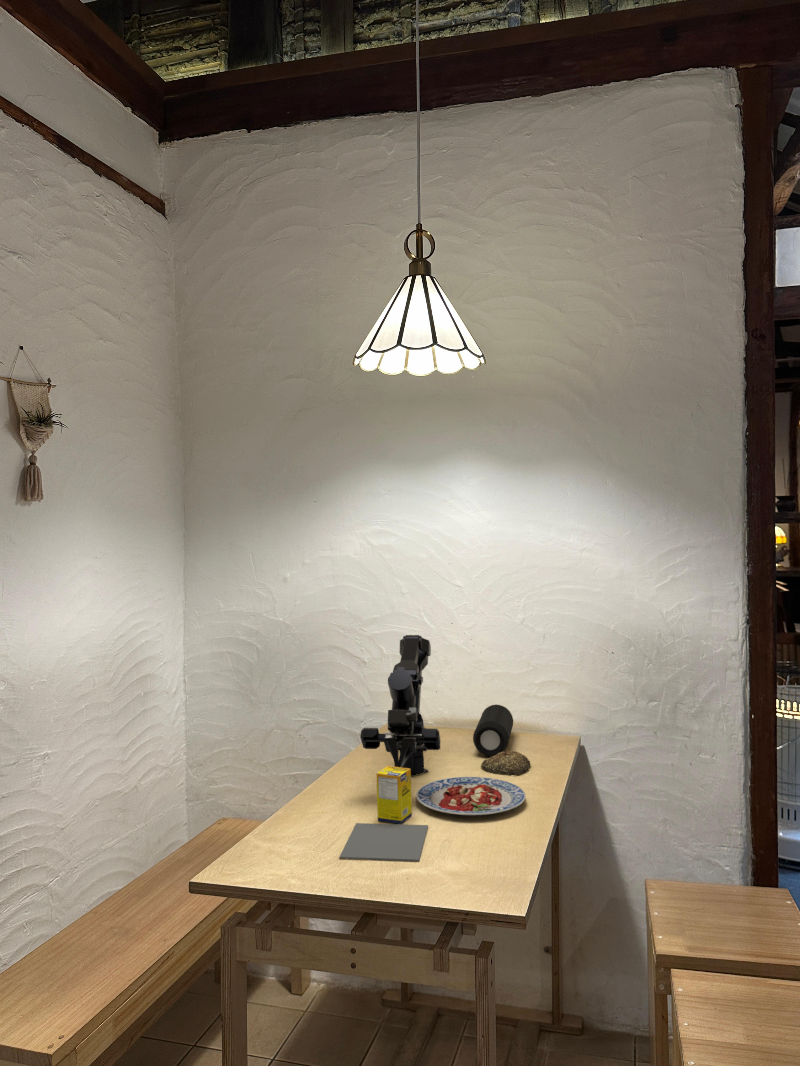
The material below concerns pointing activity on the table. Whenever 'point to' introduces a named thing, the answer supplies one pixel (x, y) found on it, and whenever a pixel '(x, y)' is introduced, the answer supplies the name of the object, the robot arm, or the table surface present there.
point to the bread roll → (507, 763)
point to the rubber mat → (385, 842)
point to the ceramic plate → (470, 795)
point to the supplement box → (394, 794)
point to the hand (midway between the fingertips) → (397, 771)
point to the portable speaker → (493, 730)
